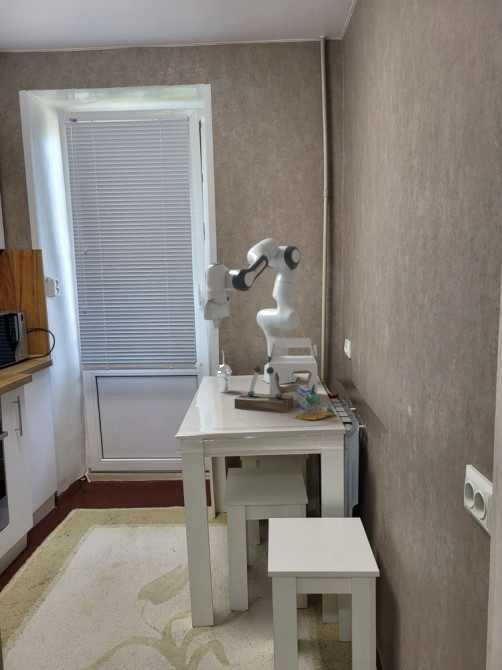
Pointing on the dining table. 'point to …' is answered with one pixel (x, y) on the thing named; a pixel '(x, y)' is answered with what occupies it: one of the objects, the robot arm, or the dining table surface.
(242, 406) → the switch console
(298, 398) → the medicine box
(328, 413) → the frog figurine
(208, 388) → the dining table surface
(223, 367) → the cup with straw
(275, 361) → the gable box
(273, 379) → the lever
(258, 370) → the lever
